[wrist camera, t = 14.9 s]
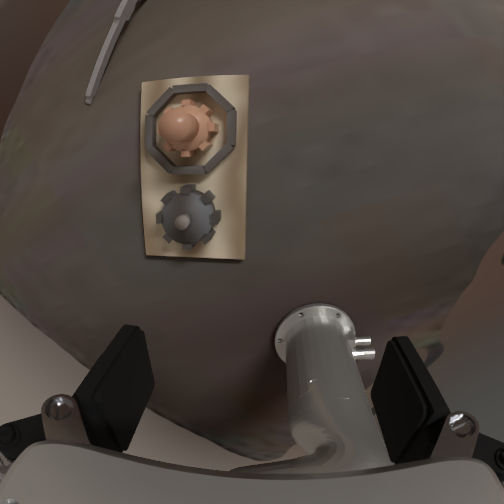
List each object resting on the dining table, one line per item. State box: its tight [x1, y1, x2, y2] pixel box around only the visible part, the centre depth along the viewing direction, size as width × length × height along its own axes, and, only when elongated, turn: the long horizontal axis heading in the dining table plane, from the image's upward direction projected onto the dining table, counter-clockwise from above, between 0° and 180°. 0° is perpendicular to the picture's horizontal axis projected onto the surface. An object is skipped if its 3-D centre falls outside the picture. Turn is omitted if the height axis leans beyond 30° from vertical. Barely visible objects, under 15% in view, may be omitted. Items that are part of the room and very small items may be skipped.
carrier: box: [140, 75, 249, 259], centre depth 35 cm, size 14×24×6 cm, turn 179°
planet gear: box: [157, 99, 219, 157], centre depth 32 cm, size 7×7×8 cm
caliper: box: [86, 0, 139, 105], centre depth 29 cm, size 20×1×6 cm, turn 153°
